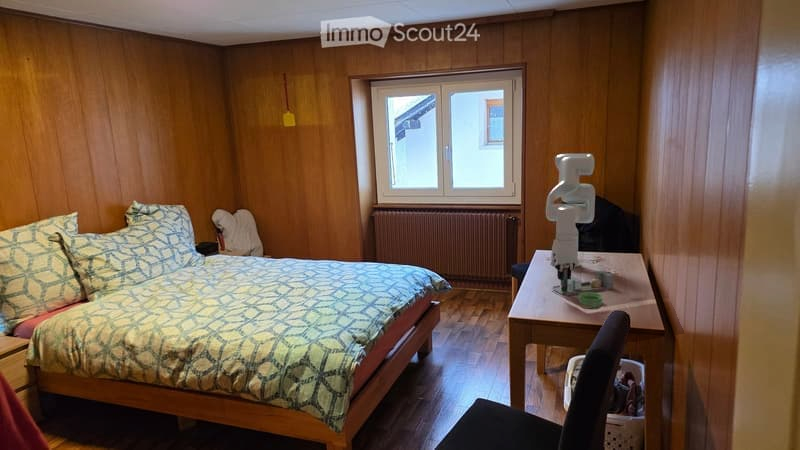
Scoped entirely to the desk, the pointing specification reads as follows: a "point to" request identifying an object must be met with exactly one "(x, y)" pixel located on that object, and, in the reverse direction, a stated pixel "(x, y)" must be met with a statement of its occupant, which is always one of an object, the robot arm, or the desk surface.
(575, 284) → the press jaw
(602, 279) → the press frame
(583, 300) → the ramekin
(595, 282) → the beige rounded dome
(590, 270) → the desk surface
